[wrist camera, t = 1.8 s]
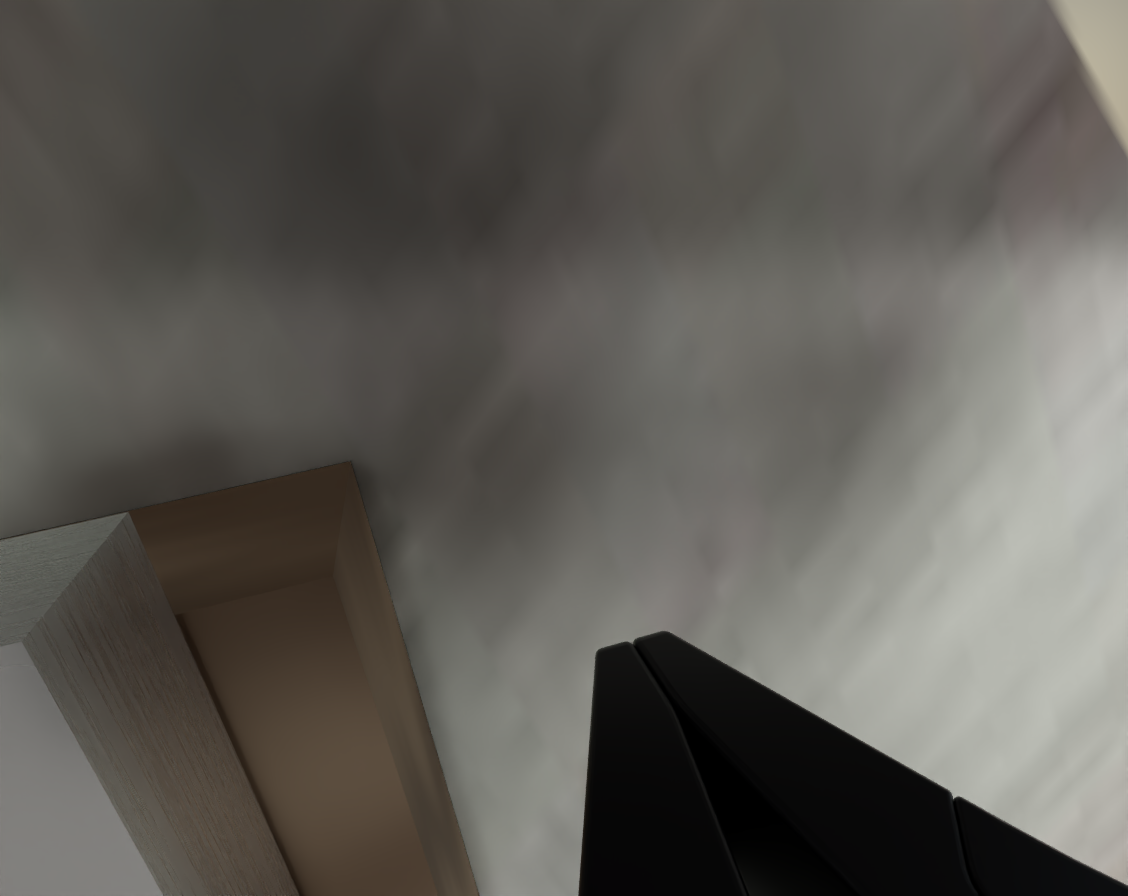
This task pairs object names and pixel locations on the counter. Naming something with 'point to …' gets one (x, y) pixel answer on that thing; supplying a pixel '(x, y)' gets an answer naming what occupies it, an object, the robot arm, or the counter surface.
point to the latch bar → (114, 734)
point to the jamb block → (312, 680)
